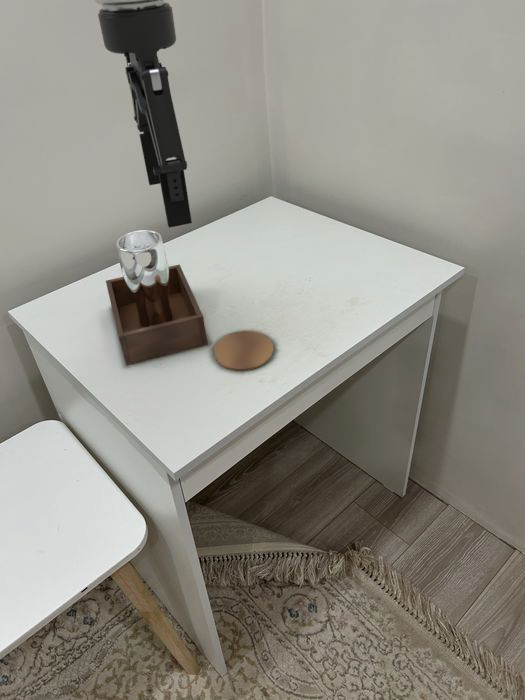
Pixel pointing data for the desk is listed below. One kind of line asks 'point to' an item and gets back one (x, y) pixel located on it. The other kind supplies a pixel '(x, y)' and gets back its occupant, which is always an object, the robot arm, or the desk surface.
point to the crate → (161, 336)
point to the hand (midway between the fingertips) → (168, 202)
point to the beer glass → (146, 275)
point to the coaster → (243, 350)
